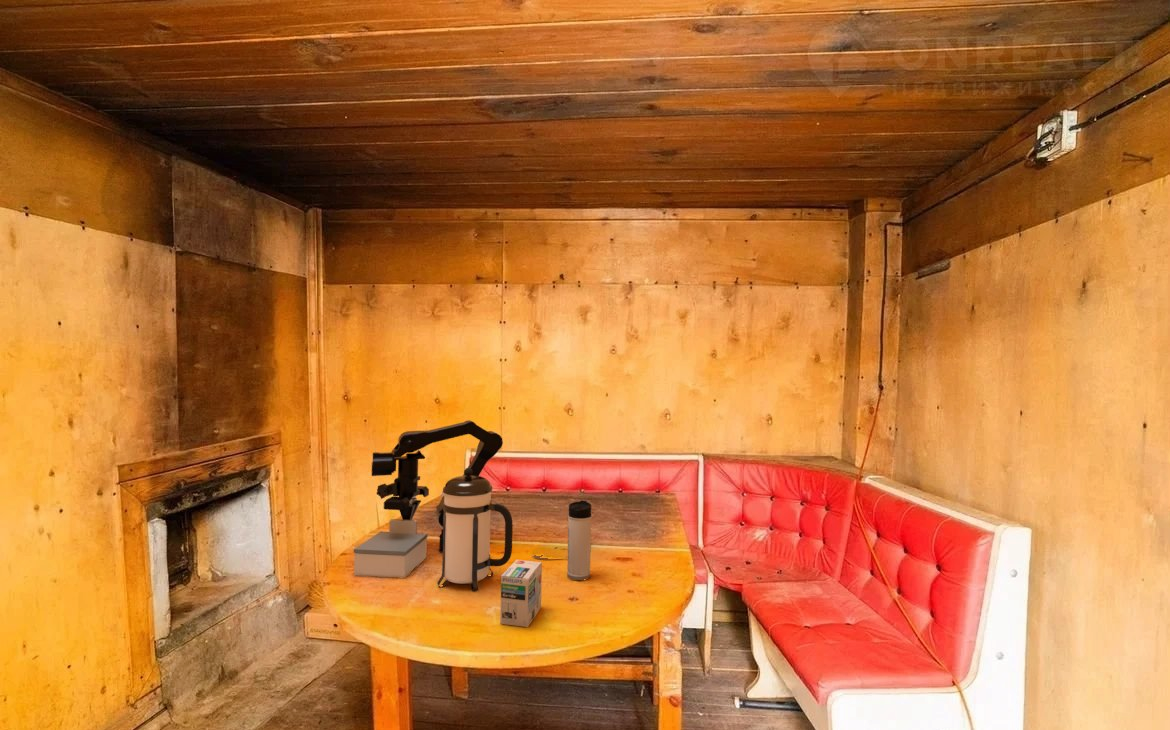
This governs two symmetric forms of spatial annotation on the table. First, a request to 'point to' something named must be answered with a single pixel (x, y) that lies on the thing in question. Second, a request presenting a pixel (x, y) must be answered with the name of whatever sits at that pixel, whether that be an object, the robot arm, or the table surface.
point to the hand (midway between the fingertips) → (406, 526)
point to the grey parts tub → (389, 563)
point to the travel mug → (579, 540)
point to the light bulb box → (521, 593)
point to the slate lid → (394, 539)
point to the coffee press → (470, 530)
